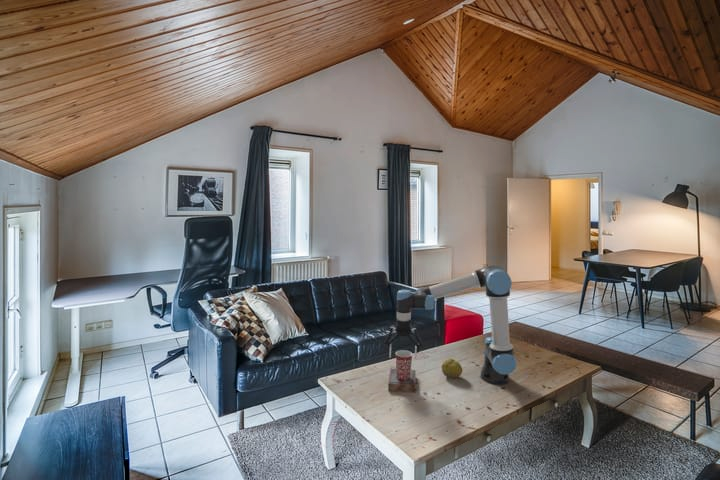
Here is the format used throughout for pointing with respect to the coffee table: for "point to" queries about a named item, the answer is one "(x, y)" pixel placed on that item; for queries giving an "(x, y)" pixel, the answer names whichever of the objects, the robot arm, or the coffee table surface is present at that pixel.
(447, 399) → the coffee table surface
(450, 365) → the fruit
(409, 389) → the stand
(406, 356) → the mug
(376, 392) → the coffee table surface
